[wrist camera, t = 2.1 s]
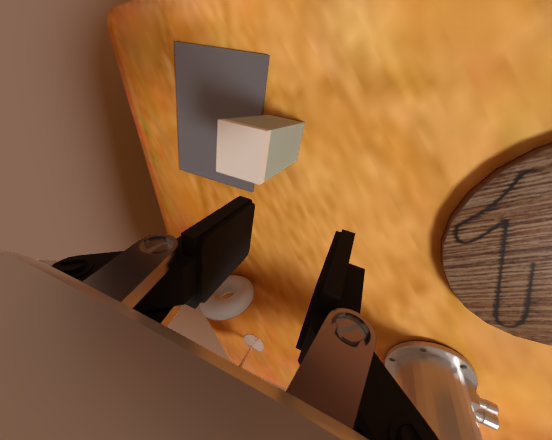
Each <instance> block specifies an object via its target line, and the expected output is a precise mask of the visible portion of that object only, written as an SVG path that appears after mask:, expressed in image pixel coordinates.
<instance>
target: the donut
mask: <svg viewBox="0 0 552 440" xmlns="http://www.w3.org/2000/svg"><path fill="white" fill-rule="evenodd" d="M229 293H234V294H233V295H231V296H230V297H228V298H225V299H220V298H221V297H222V296H224V295H226V294H229ZM253 297H254V287H253V285H252V283H251V282H250V281H249V280H248V279H247V278H245V277H243V276H239V275H229V277H228V278H227V279H226V280H225V281H224V282H223V283H222V284H221V286H220V287H219V288H218V289H217V290H216V291H215V292H214V293H213V294H212V296H211V297H210V298H209V299H208V300H207V301H206V302H205V303H202V302H201V303H200V304H199V308H200V311H201V312H202V313H203V315H204V316H205V317H207V318H210V319H212V320H226V319H230V318H233V317H235V316H237V315H239V314H240V313H242V312H243V311H245V310H246V308H247V307H248V306H249V305H250V304H251V302H252V299H253Z"/></svg>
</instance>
